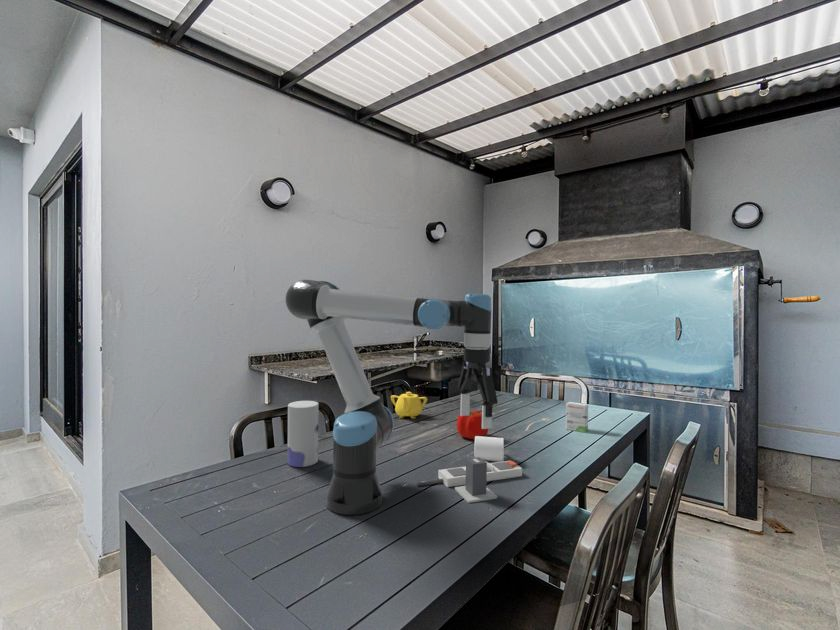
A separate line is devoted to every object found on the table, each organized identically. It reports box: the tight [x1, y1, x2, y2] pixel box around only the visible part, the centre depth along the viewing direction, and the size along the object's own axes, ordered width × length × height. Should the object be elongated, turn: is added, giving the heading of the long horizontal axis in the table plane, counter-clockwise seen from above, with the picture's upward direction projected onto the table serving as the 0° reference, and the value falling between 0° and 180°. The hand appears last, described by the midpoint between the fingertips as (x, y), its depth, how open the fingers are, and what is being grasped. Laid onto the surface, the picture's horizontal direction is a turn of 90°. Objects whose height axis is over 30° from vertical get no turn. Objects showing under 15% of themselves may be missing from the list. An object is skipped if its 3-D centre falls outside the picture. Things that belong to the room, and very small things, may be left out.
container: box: [287, 400, 319, 468], centre depth 142 cm, size 10×10×20 cm
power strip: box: [416, 460, 523, 488], centre depth 131 cm, size 34×7×4 cm, turn 110°
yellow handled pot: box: [390, 391, 428, 420], centre depth 202 cm, size 14×14×12 cm
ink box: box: [565, 401, 589, 433], centre depth 184 cm, size 9×5×12 cm, turn 56°
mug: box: [473, 436, 505, 462], centre depth 149 cm, size 12×10×8 cm
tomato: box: [456, 410, 489, 441], centre depth 172 cm, size 14×13×10 cm
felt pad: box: [454, 485, 498, 504], centre depth 120 cm, size 9×9×1 cm
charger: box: [464, 457, 488, 496], centre depth 120 cm, size 4×4×9 cm
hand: (475, 421), depth 120 cm, fingers open, 13 cm apart
